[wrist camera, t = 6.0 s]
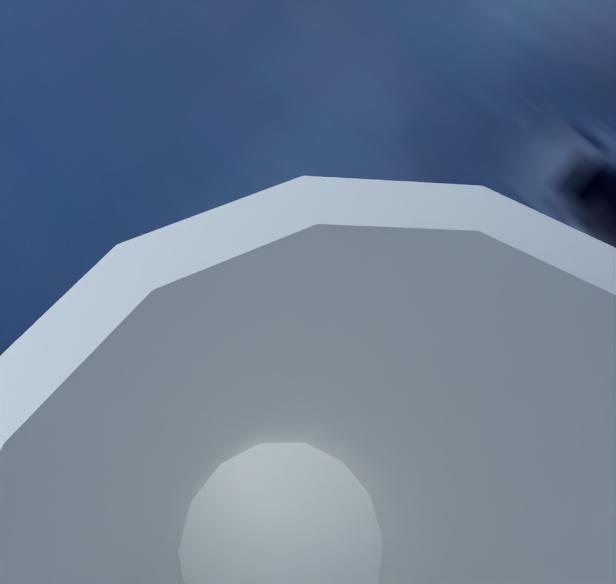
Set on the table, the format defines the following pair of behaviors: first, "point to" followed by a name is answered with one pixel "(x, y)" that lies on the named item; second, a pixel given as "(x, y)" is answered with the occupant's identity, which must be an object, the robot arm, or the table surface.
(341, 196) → the foam cup
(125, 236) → the table surface
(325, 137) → the table surface
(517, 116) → the table surface
